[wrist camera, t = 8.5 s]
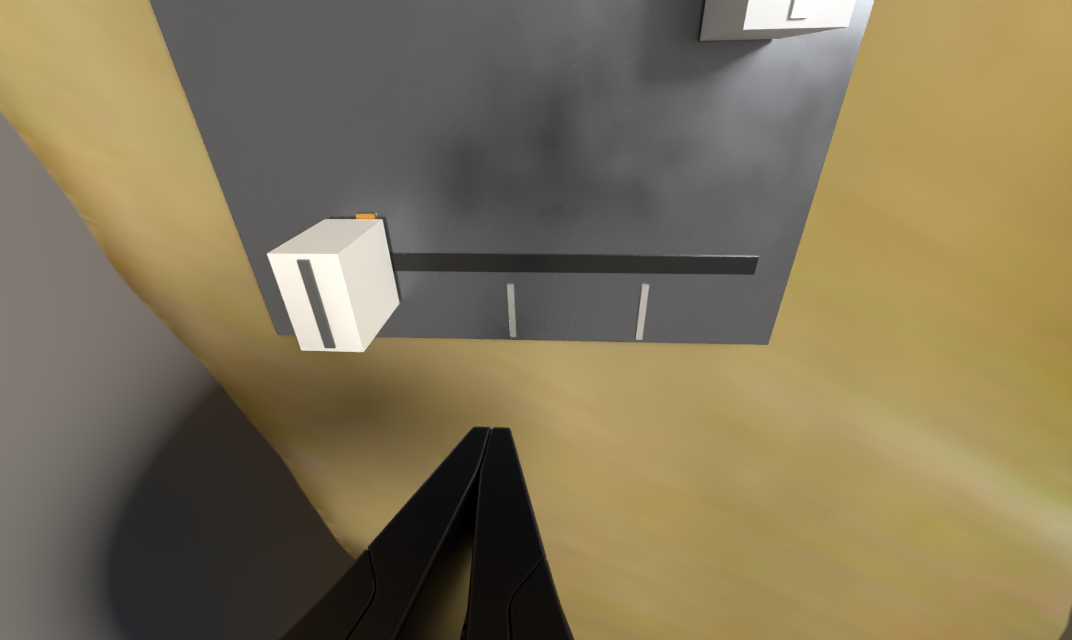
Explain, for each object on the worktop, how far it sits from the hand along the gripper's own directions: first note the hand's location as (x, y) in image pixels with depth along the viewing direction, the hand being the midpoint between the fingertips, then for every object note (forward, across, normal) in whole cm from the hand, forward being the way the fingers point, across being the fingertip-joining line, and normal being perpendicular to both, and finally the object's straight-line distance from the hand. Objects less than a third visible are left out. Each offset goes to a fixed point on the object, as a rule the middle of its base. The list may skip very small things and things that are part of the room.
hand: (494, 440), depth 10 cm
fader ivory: (+10, +7, 0) cm, 13 cm away
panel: (+12, +1, -5) cm, 13 cm away
